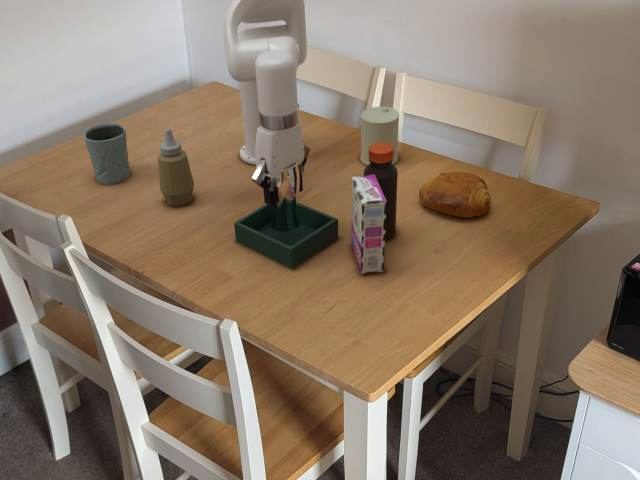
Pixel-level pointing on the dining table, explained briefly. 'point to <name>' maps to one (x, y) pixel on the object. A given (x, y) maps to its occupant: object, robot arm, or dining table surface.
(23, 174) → the dining table surface
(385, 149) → the vinegar
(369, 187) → the candy bar box
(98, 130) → the grey green cup
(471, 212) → the croissant
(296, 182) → the beer glass
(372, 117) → the can
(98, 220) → the dining table surface
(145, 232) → the dining table surface
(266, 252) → the tote
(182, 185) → the squeeze bottle
